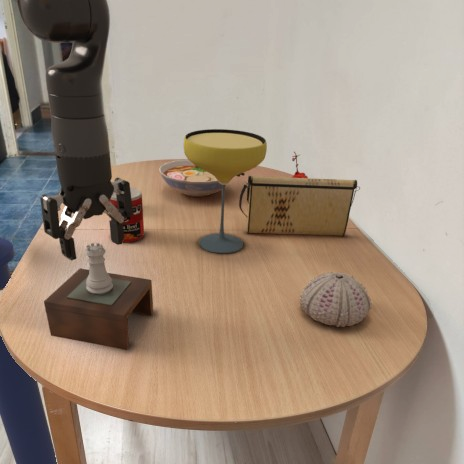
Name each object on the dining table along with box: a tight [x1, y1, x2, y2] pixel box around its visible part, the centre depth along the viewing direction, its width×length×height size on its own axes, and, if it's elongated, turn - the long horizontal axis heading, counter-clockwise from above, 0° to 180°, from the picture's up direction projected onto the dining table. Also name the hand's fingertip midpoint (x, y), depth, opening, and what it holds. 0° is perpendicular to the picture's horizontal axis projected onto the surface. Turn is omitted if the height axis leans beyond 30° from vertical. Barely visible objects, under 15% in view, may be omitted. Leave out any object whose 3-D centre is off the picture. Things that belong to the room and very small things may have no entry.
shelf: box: [43, 268, 154, 351], centre depth 79 cm, size 14×12×7 cm
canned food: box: [110, 187, 145, 243], centre depth 110 cm, size 8×8×11 cm
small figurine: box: [291, 151, 309, 178], centre depth 135 cm, size 8×7×15 cm
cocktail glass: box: [183, 128, 268, 255], centre depth 105 cm, size 18×18×25 cm
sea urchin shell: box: [299, 272, 372, 328], centre depth 86 cm, size 13×14×8 cm
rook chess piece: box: [84, 242, 113, 295], centre depth 75 cm, size 4×4×8 cm
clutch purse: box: [238, 175, 361, 237], centre depth 116 cm, size 30×7×15 cm, turn 92°
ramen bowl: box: [158, 158, 246, 198], centre depth 139 cm, size 25×23×8 cm
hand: (94, 250), depth 73 cm, fingers open, 8 cm apart
